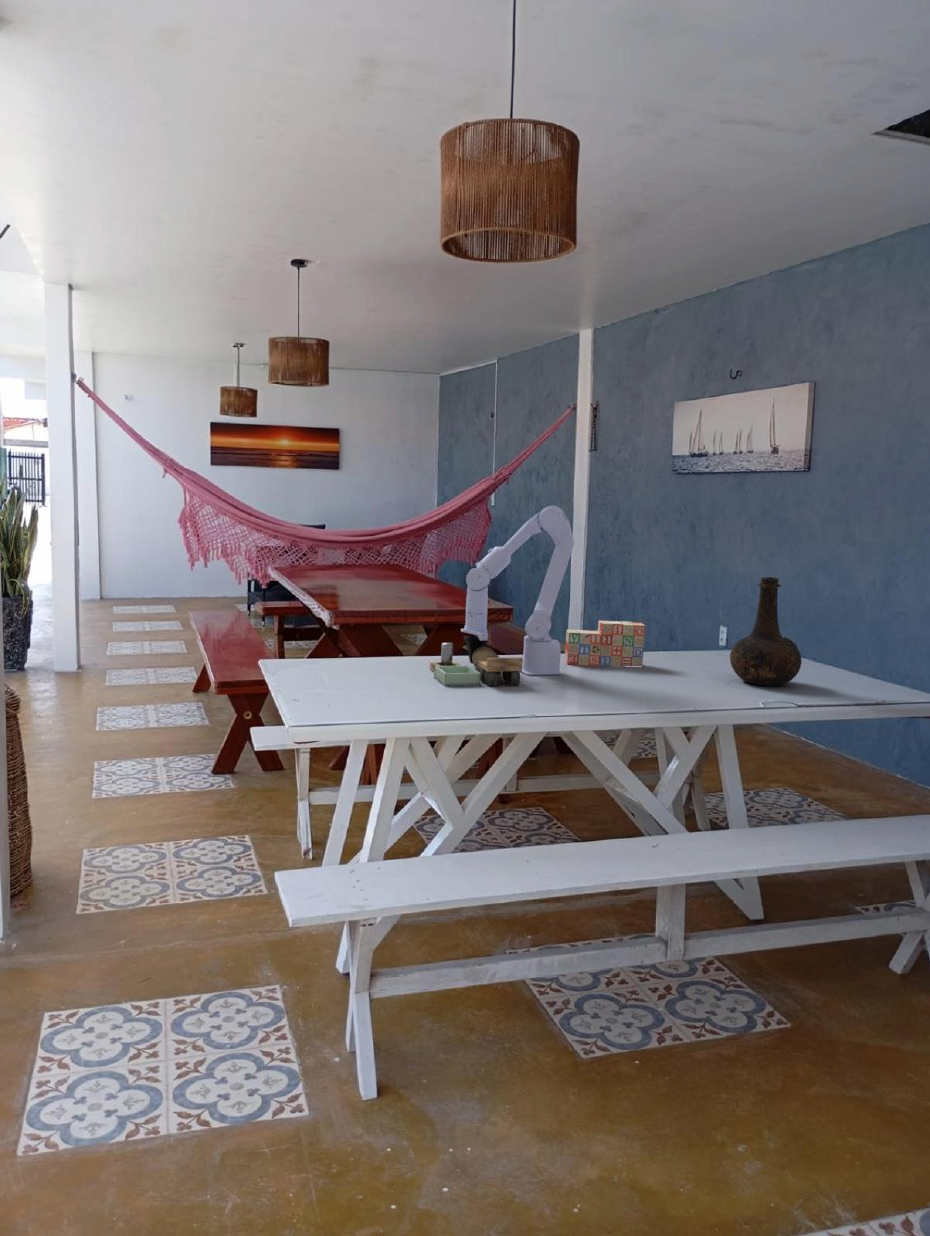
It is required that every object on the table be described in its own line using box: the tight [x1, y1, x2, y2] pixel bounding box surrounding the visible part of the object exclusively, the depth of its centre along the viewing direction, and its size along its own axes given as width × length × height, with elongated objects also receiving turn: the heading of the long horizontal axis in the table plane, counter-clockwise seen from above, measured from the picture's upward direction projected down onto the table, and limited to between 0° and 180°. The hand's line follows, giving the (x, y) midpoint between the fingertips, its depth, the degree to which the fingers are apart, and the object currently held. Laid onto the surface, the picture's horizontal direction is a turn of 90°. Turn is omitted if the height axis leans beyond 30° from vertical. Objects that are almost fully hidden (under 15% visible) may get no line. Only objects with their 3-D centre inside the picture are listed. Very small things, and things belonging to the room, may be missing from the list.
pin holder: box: [429, 661, 463, 673], centre depth 254 cm, size 7×7×2 cm
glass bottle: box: [729, 576, 802, 687], centre depth 255 cm, size 18×18×28 cm
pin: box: [440, 642, 454, 666], centre depth 253 cm, size 3×3×8 cm
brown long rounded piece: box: [472, 645, 502, 677], centre depth 252 cm, size 15×7×7 cm, turn 13°
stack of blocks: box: [564, 620, 646, 667], centre depth 275 cm, size 21×6×12 cm, turn 90°
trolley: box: [479, 657, 523, 687], centre depth 241 cm, size 9×8×7 cm
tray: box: [433, 665, 481, 687], centre depth 241 cm, size 9×10×3 cm
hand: (474, 663), depth 260 cm, fingers closed
